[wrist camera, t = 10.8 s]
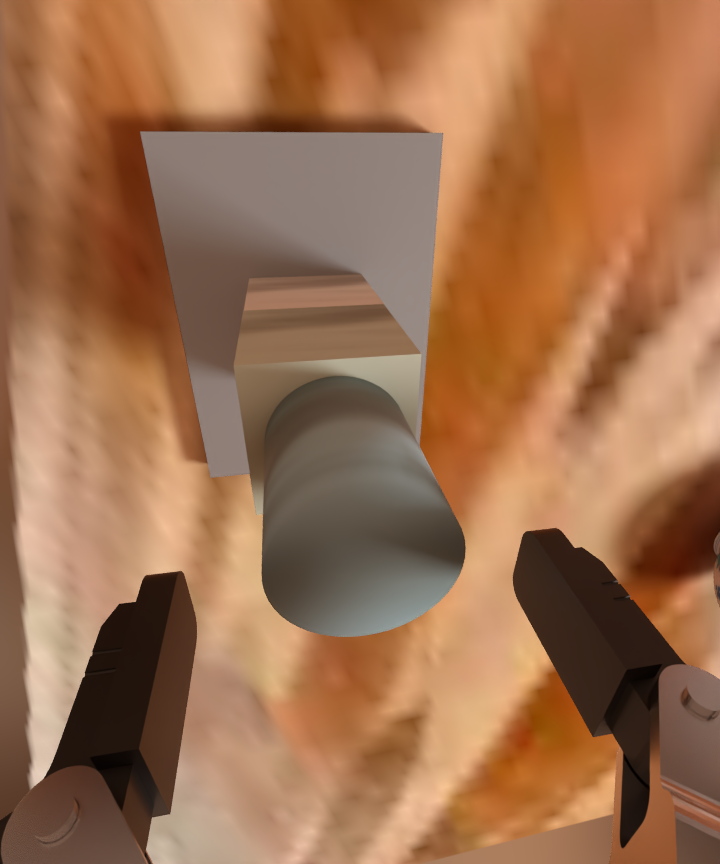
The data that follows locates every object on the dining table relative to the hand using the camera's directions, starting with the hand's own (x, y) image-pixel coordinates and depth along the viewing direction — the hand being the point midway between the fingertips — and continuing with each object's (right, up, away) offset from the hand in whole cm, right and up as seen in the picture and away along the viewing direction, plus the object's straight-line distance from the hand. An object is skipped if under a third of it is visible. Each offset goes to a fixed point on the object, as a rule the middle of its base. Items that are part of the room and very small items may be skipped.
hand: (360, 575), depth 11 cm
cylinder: (-1, +3, +5) cm, 6 cm away
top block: (-2, +6, +10) cm, 12 cm away
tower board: (-3, +10, +17) cm, 20 cm away
